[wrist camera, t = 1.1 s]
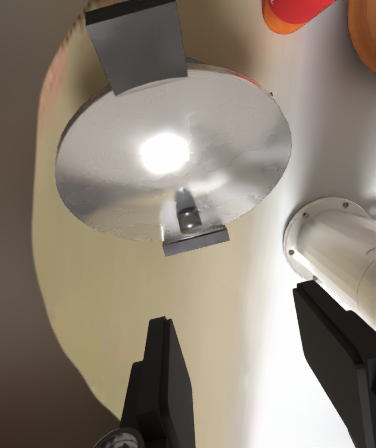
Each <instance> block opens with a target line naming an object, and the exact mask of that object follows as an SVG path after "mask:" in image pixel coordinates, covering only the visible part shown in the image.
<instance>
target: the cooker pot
mask: <svg viewBox="0 0 376 448" xmlns="http://www.w3.org/2000/svg"><path fill="white" fill-rule="evenodd" d="M185 60H186V64H203V63H201V62H198V61H196V60H193V59H189V58H185ZM108 85H110V83H109V84H108ZM108 85H107V86H108ZM270 94H271V96H272V97H273V95H272V92H271V93H270ZM222 227H223V229H222V230H218V231H214V232H210V233H206V234H202V235H199V236H195V237H191V238H187V239H183V240H179V241H175V242H171V243H167V244H166V243H165V240H163V250H164V253H165V257H166V256H170V255H174V254H178V253H182V252H186V251H190V250H194V249H198V248H202V247H206V246H210V245H214V244H218V243H222V242H225V241H229V235H228V231H227V229H226V227H225V225H222Z"/></svg>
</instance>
